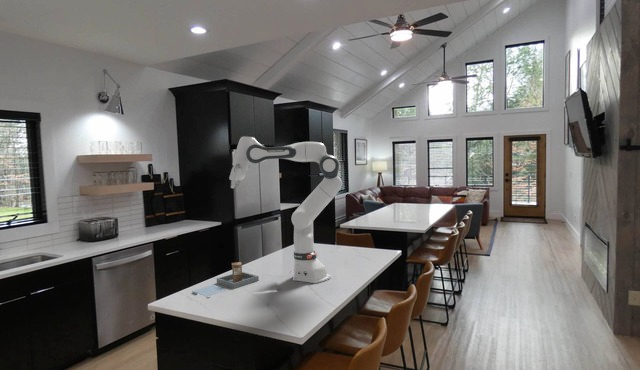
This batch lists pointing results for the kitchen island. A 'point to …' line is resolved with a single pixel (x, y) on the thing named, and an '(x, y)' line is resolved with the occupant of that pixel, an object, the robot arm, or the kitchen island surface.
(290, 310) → the kitchen island surface
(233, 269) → the walnut block
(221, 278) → the parts bin
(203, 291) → the light blue flat slab
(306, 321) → the kitchen island surface
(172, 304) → the kitchen island surface
